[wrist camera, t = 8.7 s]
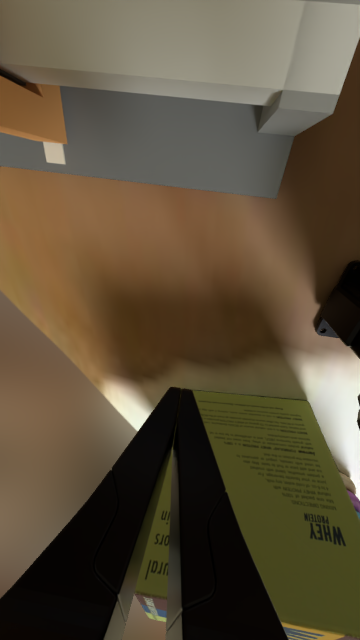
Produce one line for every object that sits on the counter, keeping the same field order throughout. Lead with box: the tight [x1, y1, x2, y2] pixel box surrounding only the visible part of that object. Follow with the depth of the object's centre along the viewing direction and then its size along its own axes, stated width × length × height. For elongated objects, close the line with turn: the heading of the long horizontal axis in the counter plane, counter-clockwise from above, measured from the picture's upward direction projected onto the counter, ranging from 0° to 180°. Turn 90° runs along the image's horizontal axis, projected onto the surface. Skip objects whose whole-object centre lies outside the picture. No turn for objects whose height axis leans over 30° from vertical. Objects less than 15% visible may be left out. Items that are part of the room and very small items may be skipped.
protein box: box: [134, 389, 360, 640], centre depth 21 cm, size 10×15×16 cm
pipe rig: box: [0, 0, 360, 199], centre depth 10 cm, size 20×9×6 cm, turn 85°
